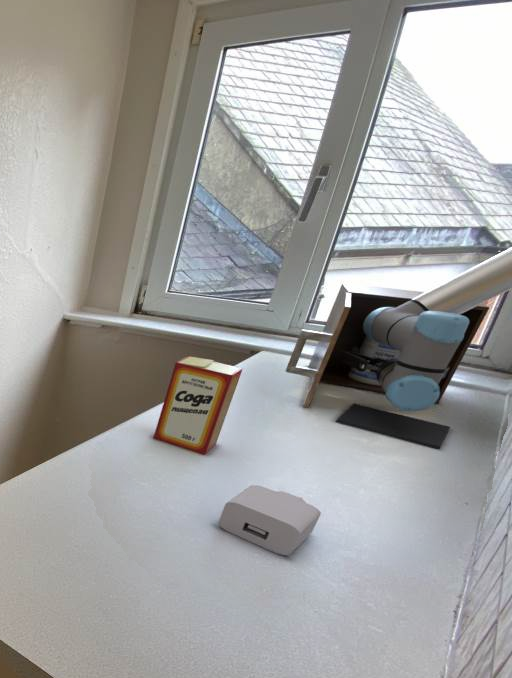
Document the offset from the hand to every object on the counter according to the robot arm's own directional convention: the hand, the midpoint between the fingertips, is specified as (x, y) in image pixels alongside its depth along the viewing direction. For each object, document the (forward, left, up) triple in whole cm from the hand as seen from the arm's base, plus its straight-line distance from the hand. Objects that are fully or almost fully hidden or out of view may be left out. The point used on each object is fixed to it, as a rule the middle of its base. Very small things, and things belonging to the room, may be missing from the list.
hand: (386, 356), depth 139 cm
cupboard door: (-7, +22, -9) cm, 25 cm away
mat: (-27, +11, -9) cm, 31 cm away
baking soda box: (-49, +61, -9) cm, 79 cm away
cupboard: (+6, -3, -9) cm, 11 cm away
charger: (-78, +58, -9) cm, 98 cm away
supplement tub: (+5, -2, -8) cm, 10 cm away
